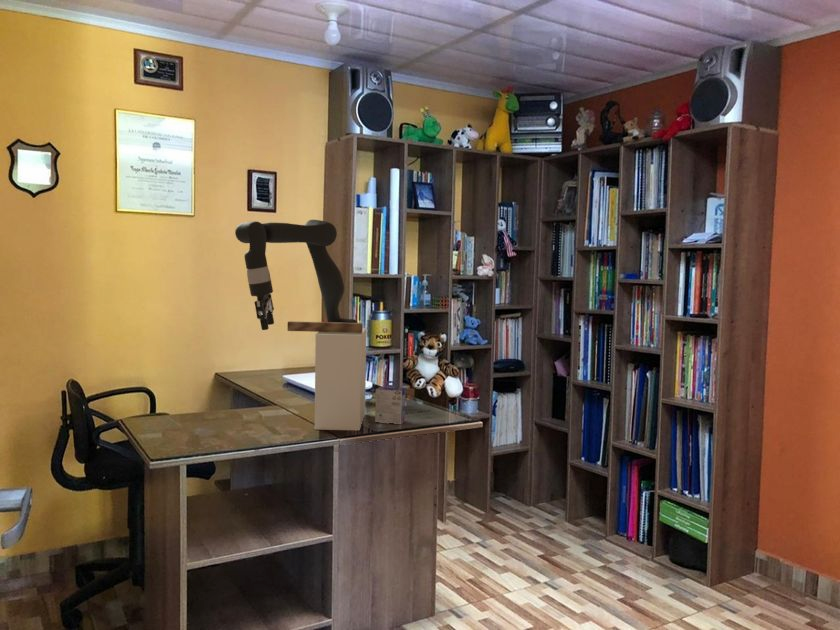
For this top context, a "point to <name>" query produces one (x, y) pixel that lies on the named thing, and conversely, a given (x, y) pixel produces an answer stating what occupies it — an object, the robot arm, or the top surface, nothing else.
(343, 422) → the tall tan cardboard box
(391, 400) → the ink cartridge box
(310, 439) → the top surface
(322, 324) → the walnut rod
